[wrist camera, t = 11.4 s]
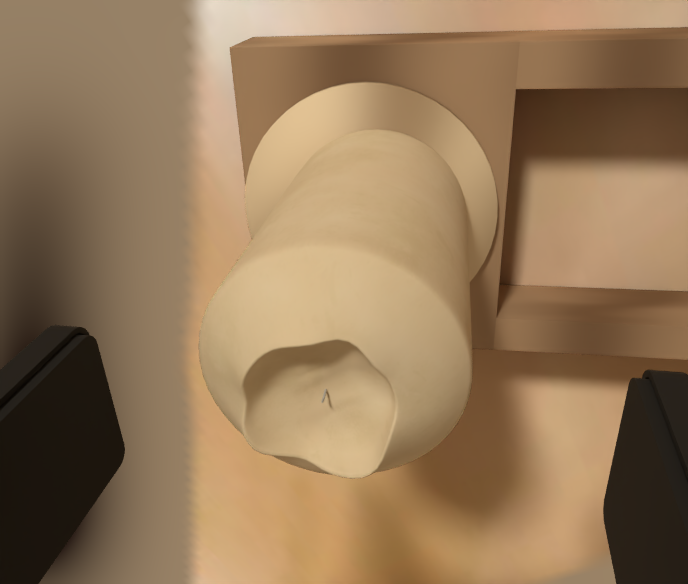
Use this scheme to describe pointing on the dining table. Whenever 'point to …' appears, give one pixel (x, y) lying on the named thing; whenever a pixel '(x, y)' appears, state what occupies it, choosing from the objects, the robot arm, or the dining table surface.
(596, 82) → the wooden holder tray
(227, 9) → the dining table surface
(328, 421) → the candle
